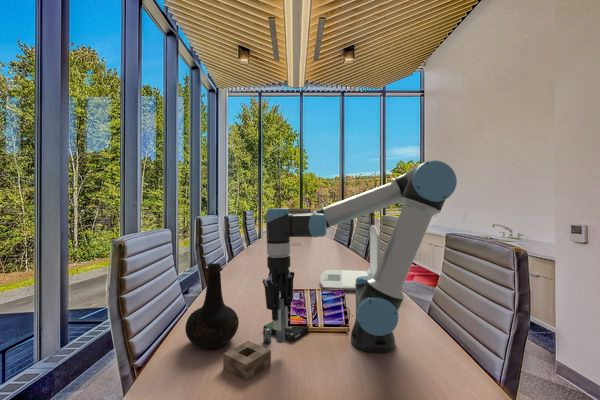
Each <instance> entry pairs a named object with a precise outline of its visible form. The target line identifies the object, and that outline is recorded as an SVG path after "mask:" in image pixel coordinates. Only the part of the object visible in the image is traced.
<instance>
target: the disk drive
mask: <svg viewBox="0 0 600 400" xmlns="http://www.w3.org/2000/svg"><path fill="white" fill-rule="evenodd" d="M264 328H271V336H272V335H273V336H276V330H275V329H273V320H272V321H270V322H269V323H267V324H264V325H263V328H262V329H264ZM308 328H309V329H310V326H309V325H306V327H285V341H288V342H291V343H294V342H296V341H297V340H299V339H301V338H302V337H304V336H306V335H307V334H309V333H310V330H309V331H308ZM308 332H309V333H308ZM295 340H296V341H295Z"/></svg>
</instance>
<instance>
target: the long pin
mask: <svg viewBox="0 0 600 400" xmlns="http://www.w3.org/2000/svg"><path fill="white" fill-rule="evenodd" d="M279 310H281V331H278V330H276V337H275V339H276V340H275V342H276V343H278V344H284V343H285V342H286V340H285V321H284V297H281V296H279Z"/></svg>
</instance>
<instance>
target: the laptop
mask: <svg viewBox="0 0 600 400" xmlns="http://www.w3.org/2000/svg"><path fill="white" fill-rule="evenodd" d="M380 237H381V234H380V232H379V229H378V227H377V226H376V225H374V224H371V225H370V227H369V268H368V269H366V270H362V269H361V270H359V269H358V270H356V269H325V270H324V271H323V272H322V273H321V275H320V278H319V282H320V284H321V286H322V288H324V289H326V290H327V289H344V290H345V291H344V292H356V286H355V284H356V279H357V278H358V277H361V276H374V275H375V273H376V271H377V268H378V266H379V263H380V261H381V259H380V258H381V249H380V247H381V238H380Z"/></svg>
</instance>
